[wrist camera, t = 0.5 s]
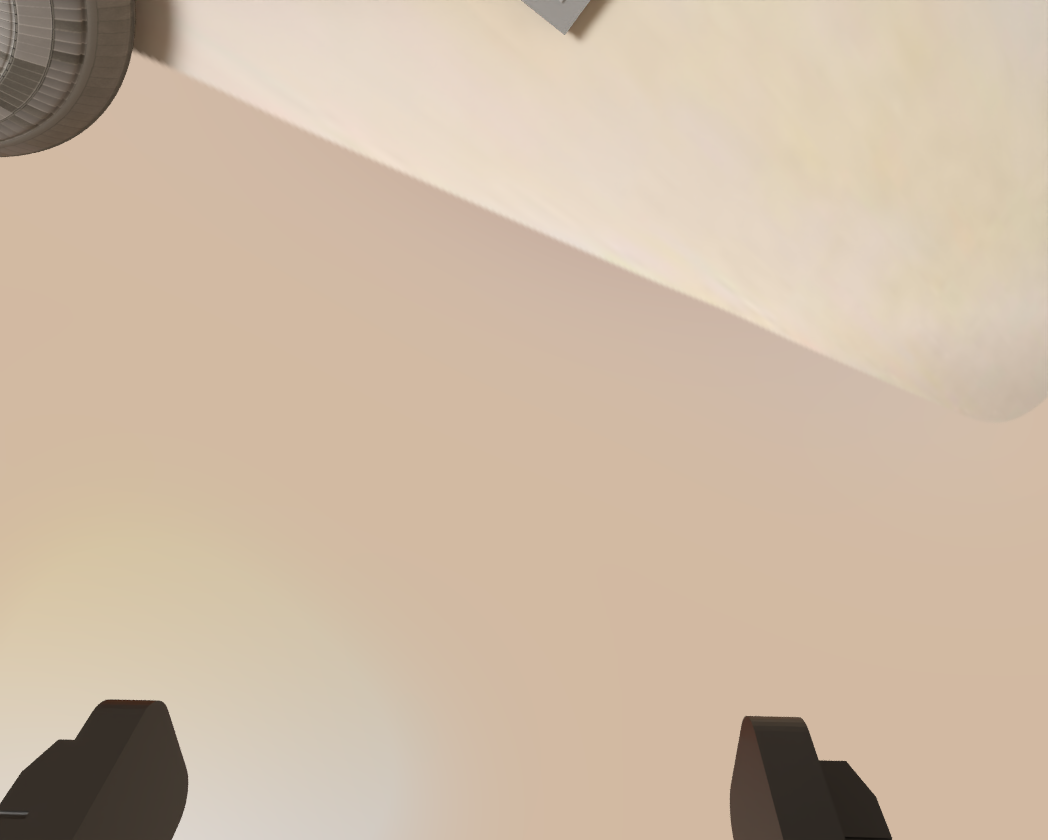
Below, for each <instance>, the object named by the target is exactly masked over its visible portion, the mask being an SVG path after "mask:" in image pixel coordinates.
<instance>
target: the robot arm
mask: <svg viewBox="0 0 1048 840" xmlns="http://www.w3.org/2000/svg"><path fill="white" fill-rule="evenodd" d="M187 792H188V774H187V769H186V766H185V762H184V759H183V756H182V753H181V750H180V747H179V743H178V740H177V737H176V734H175V731H174V728H173V724H172V721H171V718H170V715H169V712H168V709H167V707H166V705H165V704H164V703H163V702H162V701H150V700H105V701H103V702H101V703H100V704H99V705H98V706H97V707H96V708H95V709H94V711H93V712H92V713H91V715H90V716H89V718H88V720H87V721H86V723H85V724H84V726H83V728H82V729H81V731H80V732H79V734H78V735H77V737H76V739H75V740H58V741H56V742H55V743H54V744H53V745H52V746H51V747H50V748H48V750H46V751H45V752H44V753H43V754H42V755H40V756H39V757H38V758H37V759H36V760H35V761H34V762H33V763H31V764H30V765H29V766H28V767H27V768H26V769H25V770H23V771H22V772H21V774H20V775H19V777H18V778H17V780H16V781H15V783H14V784H13V786H12V788H11V789H10V790H9V791H8V793H7V794H6V796H5V797H4V799H3V800H2V802H1V803H0V840H172V838H173V835H174V833H175V831H176V829H177V827H178V824H179V822H180V819H181V817H182V814H183V811H184V808H185V804H186V799H187ZM730 814H731V825H732V832H733V838H734V840H892V837H891V834H890V832H889V829H888V826H887V824H886V822H885V819H884V816H883V814H882V811H881V809H880V806H879V804H878V801H877V798H876V796H875V795H874V794H873V793H872V792H871V790H870V789H869V788H868V787H867V786H866V784H865V783H864V782H863V781H862V780H861V778H860V777H859V776H858V775H857V774H856V772H855V771H854V770H853V769H852V768H851V767H850V765H849V764H848V763H847V762H846V761H819V760H818V757H817V754H816V751H815V748H814V745H813V742H812V739H811V736H810V733H809V730H808V728H807V726H806V724H805V722H804V721H803V719H802V718H799V717H761V716H746V717H744V719H743V722H742V726H741V731H740V737H739V743H738V748H737V754H736V760H735V765H734V771H733V777H732V783H731V789H730Z"/></svg>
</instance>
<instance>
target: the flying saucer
mask: <svg viewBox="0 0 1048 840" xmlns="http://www.w3.org/2000/svg"><path fill="white" fill-rule="evenodd" d="M134 33H135V0H0V157H9V156H19V155H26V154H31V153H36V152H40V151H43V150H47V149H50V148H53V147H55V146H58V145H60V144H62V143H64V142H66V141H68V140H70V139H72V138H74V137H75V136H77V135H79V134H80V133H81V132H83V131H84V130H85V129H87V128H88V127H89V126H91V125H92V124H93V123H94V122H95V121H96V120H97V119H98V118H99V117H100V116H101V115H102V114H103V113H104V111H105V110H106V109H107V108H108V106H109V105H110V104H111V102H112V101H113V99H114V97H115V96H116V94H117V92H118V90H119V88H120V87H121V85H122V82H123V80H124V77H125V75H126V72H127V69H128V66H129V62H130V58H131V53H132V49H133V42H134Z"/></svg>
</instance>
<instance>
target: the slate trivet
mask: <svg viewBox="0 0 1048 840" xmlns="http://www.w3.org/2000/svg"><path fill="white" fill-rule="evenodd" d="M521 1H523V2H524V3H525V4H526V5H528V6H529V7H530V8H531V9H533V10H534V11H535V12H536V13H538V14H539V15H540V16H541V17H543V18H544V19H545V20H546V21H548V22H549V23H550V24H551V25H553V26H554V27H555V28H556V29H558V30H559V31H560V32H561V33H563V34H564V35H565V34H566V33H567V31H568V30H569V29H570V27H571V26H572V24H573V23H574V22H575V20H576V19H577V18H578V16H579V15H580V14H581V12H582V11H583V10H584V8H585V7H586V5H587V4H588V3H589V1H590V0H521Z"/></svg>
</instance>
